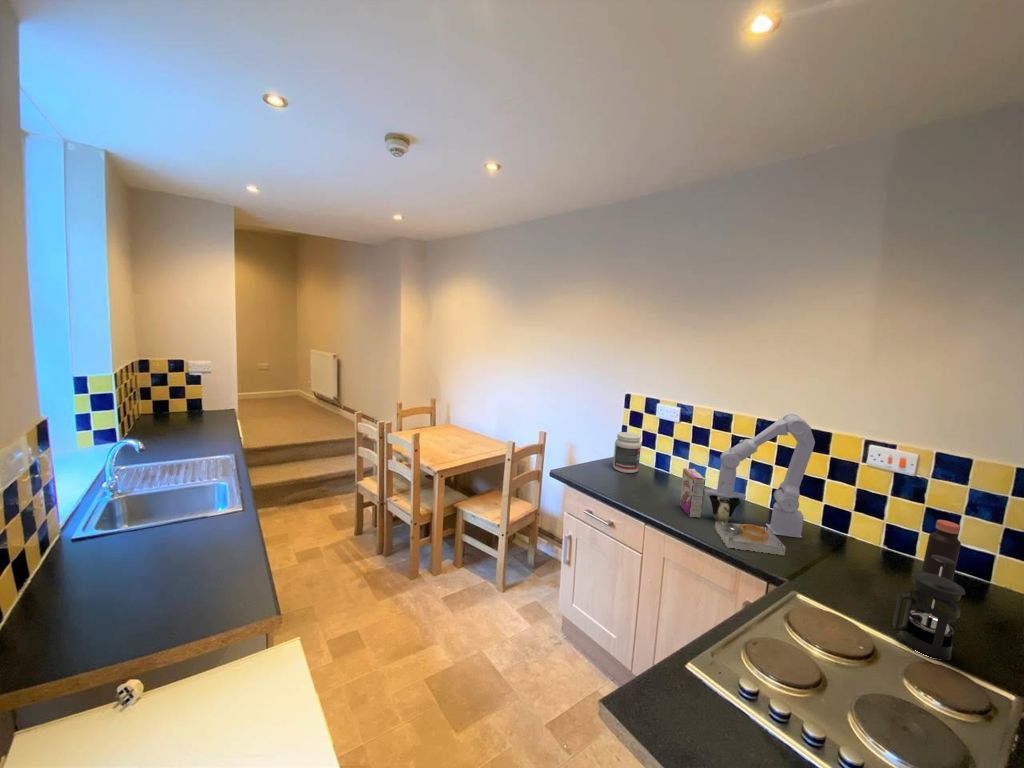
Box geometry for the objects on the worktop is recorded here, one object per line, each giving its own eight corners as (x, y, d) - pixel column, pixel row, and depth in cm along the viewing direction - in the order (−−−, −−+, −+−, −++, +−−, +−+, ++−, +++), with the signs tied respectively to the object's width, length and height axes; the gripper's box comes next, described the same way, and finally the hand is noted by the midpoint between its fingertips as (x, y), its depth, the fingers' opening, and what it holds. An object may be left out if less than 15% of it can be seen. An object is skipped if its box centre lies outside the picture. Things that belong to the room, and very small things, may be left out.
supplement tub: (642, 474, 213) (646, 438, 210) (618, 474, 211) (621, 438, 208) (632, 465, 226) (635, 431, 223) (609, 465, 224) (612, 431, 221)
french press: (940, 639, 106) (960, 554, 103) (964, 667, 97) (987, 575, 94) (882, 625, 110) (899, 542, 107) (900, 650, 101) (920, 561, 98)
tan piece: (725, 517, 169) (728, 497, 167) (732, 526, 161) (735, 505, 160) (712, 516, 169) (715, 496, 168) (718, 524, 162) (721, 503, 161)
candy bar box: (678, 505, 178) (682, 467, 175) (690, 506, 178) (694, 468, 175) (688, 517, 167) (693, 477, 164) (701, 518, 167) (706, 478, 164)
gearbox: (766, 535, 156) (768, 523, 155) (784, 555, 142) (786, 543, 141) (714, 528, 159) (716, 517, 158) (727, 548, 145) (728, 535, 144)
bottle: (914, 579, 132) (927, 519, 129) (927, 576, 135) (940, 517, 132) (942, 593, 126) (957, 530, 123) (955, 589, 128) (970, 527, 125)
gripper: (742, 480, 167) (738, 512, 169) (703, 475, 169) (699, 508, 171) (749, 486, 160) (744, 520, 162) (709, 482, 162) (704, 515, 164)
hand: (721, 514), depth 166 cm, fingers closed on tan piece, 5 cm apart
